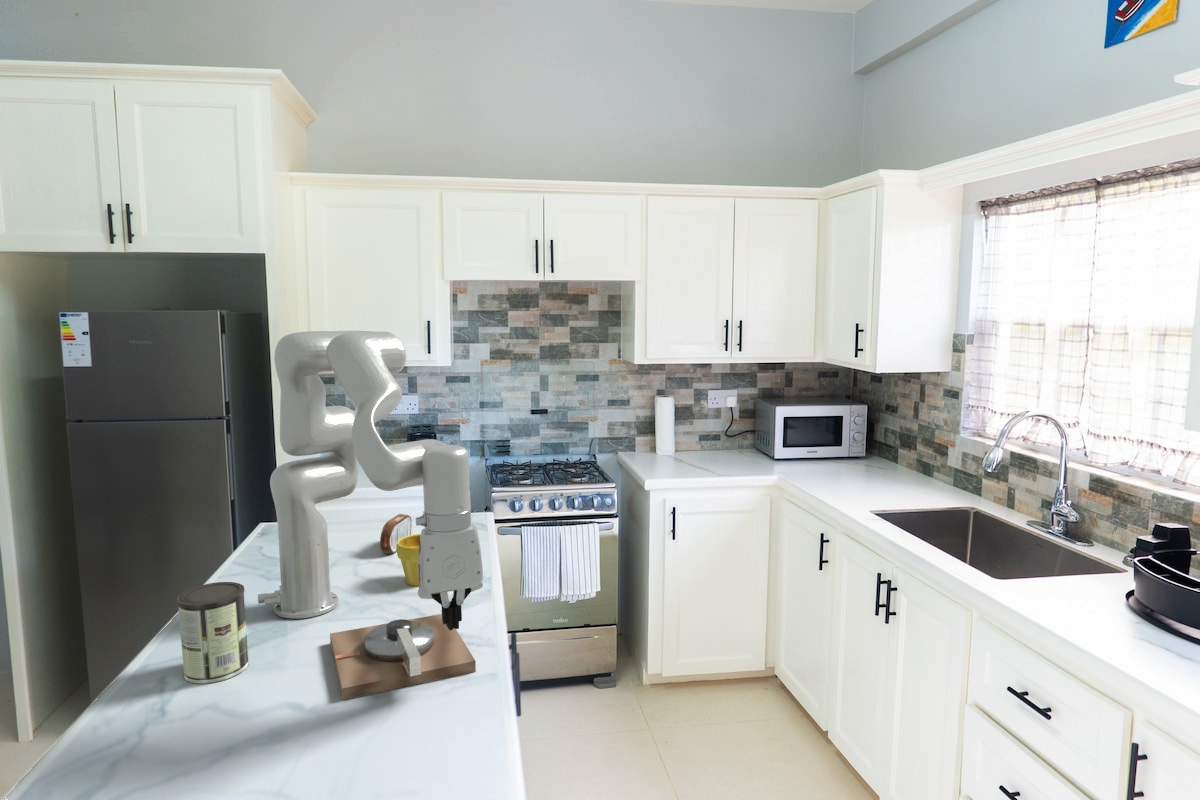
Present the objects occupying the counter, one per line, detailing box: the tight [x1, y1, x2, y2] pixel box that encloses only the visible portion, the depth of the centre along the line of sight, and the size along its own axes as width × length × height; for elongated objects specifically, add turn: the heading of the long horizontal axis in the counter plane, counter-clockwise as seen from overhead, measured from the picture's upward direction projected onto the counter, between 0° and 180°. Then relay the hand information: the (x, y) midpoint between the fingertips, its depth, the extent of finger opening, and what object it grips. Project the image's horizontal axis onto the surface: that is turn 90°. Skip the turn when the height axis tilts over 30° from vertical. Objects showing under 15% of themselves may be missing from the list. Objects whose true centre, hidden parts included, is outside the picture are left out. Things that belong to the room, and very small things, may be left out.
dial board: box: [329, 613, 477, 701], centre depth 131 cm, size 22×22×2 cm
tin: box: [379, 513, 413, 554], centre depth 191 cm, size 15×3×8 cm, turn 172°
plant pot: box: [396, 533, 421, 587], centre depth 168 cm, size 10×10×10 cm
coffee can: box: [176, 581, 250, 685], centre depth 126 cm, size 10×10×14 cm
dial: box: [365, 619, 434, 676], centre depth 127 cm, size 21×12×4 cm, turn 25°
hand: (452, 626), depth 122 cm, fingers closed
